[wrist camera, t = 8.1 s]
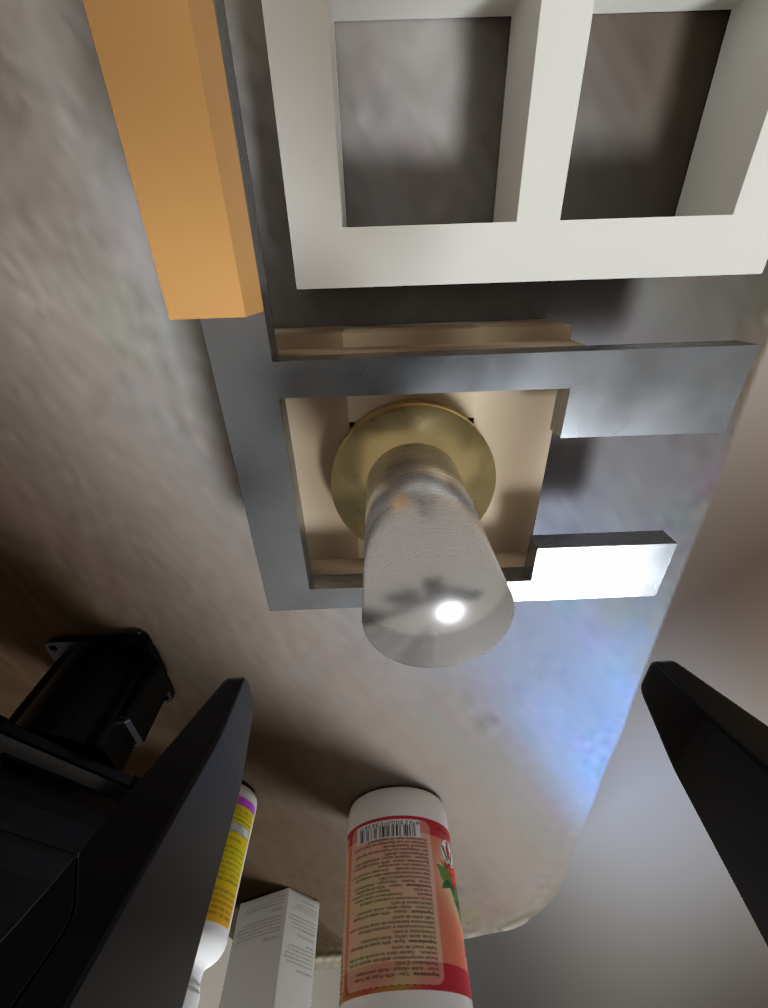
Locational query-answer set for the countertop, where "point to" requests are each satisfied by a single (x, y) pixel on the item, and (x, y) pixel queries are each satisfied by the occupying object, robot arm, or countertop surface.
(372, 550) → the flanged silver cylinder
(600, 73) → the countertop surface
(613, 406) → the key plate
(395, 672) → the countertop surface
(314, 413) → the socket block
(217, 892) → the supplement bottle
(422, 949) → the fruit juice
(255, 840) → the countertop surface
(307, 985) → the skincare box
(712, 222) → the white hollow block
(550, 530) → the countertop surface
